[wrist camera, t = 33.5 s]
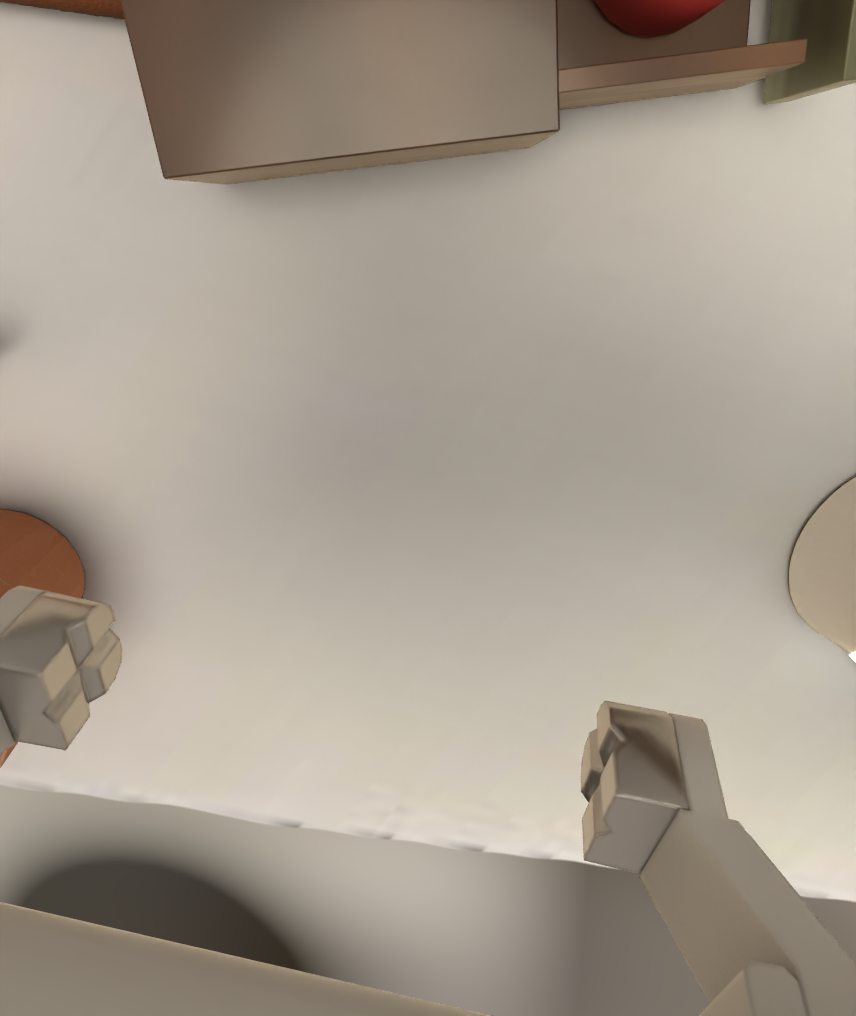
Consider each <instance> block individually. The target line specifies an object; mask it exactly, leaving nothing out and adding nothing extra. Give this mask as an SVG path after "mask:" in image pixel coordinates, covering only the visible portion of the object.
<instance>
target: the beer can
mask: <svg viewBox="0 0 856 1016" xmlns="http://www.w3.org/2000/svg"><path fill="white" fill-rule="evenodd" d="M594 1H595V2H596V4H597V5H598V7H599V8H600V9H601V11H602V12H603V14H604V15H605V16H606V18H607V19H608V20H609V21H611V22H612V23H613V24H615V25H616V26H618V27H619V28H621V29H622V30H624V31H625V32H627V33H631V34H635V35H640V36H645V37H655V36H661V35H667V34H673V33H675V32H677V31H678V30H680V29H682V28H684V27H686V26H687V25H689V24H691V23H693V22H695V21H696V20H698V19H699V18H701V17H702V16H704V15H705V14H706V13H708V12H709V11H711V10H712V9H714V8H715V7H717V6H718V5H719V4H721V3H722V2H724V1H725V0H594Z"/></svg>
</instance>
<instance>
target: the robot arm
mask: <svg viewBox="0 0 856 1016" xmlns="http://www.w3.org/2000/svg"><path fill="white" fill-rule="evenodd" d="M789 588H790V594H791V597H792V601H793V603H794V606H795V608H796V610H797V611H798V613H799V615H800V616H801V617H802V619H803V620H804V621H805V622H806V623H807V624H808V625H809V626H810V627H811V628H812V629H813V630H815V631H816V632H818V633H819V634H821V635H822V636H824V637H826V638H827V639H829V640H831V641H832V642H834V643H836V644H837V645H839V646H840V647H842V648H843V649H844V650H846V651H847V652H848V653H850V655H849V656H850V657H851V658H852V659H853V660H854V661H855V662H856V477H854V478H853V479H851V480H850V481H848V482H847V483H846V484H844V485H843V486H842V487H840V488H839V489H838V490H837V491H836V492H834V493H833V494H832V495H831V496H830V497H829V498H828V499H827V500H826V501H825V502H824V503H823V504H822V505H821V506H820V507H819V508H818V509H817V511H816V512H815V513H814V514H813V516H812V517H811V518H810V520H809V521H808V523H807V524H806V526H805V527H804V529H803V531H802V532H801V534H800V536H799V538H798V540H797V543H796V545H795V548H794V551H793V554H792V557H791V562H790V567H789ZM114 621H115V617H114V614H113V611H112V608H111V606H110V605H107V604H104V603H99V602H95V601H90V600H86V599H81V598H77V597H73V596H68V595H64V594H59V593H55V592H50V591H45V590H40V589H35V588H31V587H26V586H21V585H20V586H17V587H15V588H12V589H10V590H8V591H7V592H6V593H5V594H4V595H3V596H2V597H1V598H0V754H1V753H2V752H4V751H5V750H7V749H8V748H10V747H11V746H13V745H14V744H15V742H14V741H19V742H24V743H30V744H35V745H40V746H46V747H51V748H57V749H62V750H66V749H67V748H68V747H69V745H70V744H71V742H72V741H73V739H74V738H75V737H76V735H77V734H78V732H79V731H80V729H81V728H82V727H83V725H84V724H85V722H86V721H87V720H88V718H89V717H90V709H89V702H91V701H93V700H95V699H97V698H98V697H100V696H102V695H104V694H106V692H107V691H108V689H109V688H110V686H111V685H112V683H113V682H114V680H115V678H116V675H117V673H118V670H119V667H120V664H121V659H122V647H121V642H120V639H119V638H118V636H117V635H116V634H115V633H114V632H113V631H112V630H111V629H110V626H111V625H112V624H113V622H114ZM581 792H582V793H583V795H584V796H585V798H586V799H587V801H588V802H589V804H588V806H587V808H586V811H585V813H584V815H583V818H582V827H583V851H584V860H585V861H589V862H593V863H597V864H601V865H605V866H610V867H614V868H618V869H622V870H627V871H630V872H634V873H639V874H640V876H639V878H640V879H641V881H642V883H643V885H644V887H645V888H646V890H647V892H648V894H649V896H650V898H651V899H652V901H653V903H654V905H655V907H656V908H657V910H658V912H659V914H660V915H661V917H662V919H663V921H664V923H665V925H666V926H667V928H668V930H669V932H670V933H671V935H672V937H673V939H674V941H675V943H676V944H677V946H678V948H679V950H680V952H681V953H682V955H683V957H684V958H685V961H686V962H687V964H688V966H689V968H690V970H691V971H692V973H693V975H694V977H695V979H696V981H697V982H698V984H699V986H700V988H701V990H702V991H703V993H704V995H705V997H706V999H707V1000H708V1002H709V1005H708V1006H707V1007H706V1008H705V1009H704V1010H703V1011H702V1012H701V1013H700V1014H699V1015H698V1016H856V964H855V962H854V961H853V960H852V959H851V958H850V956H849V955H848V954H847V953H846V952H845V950H844V949H843V948H842V947H841V946H840V944H839V943H838V942H837V941H836V939H835V938H834V937H833V936H832V934H831V933H830V932H829V931H828V930H827V928H826V927H825V926H824V925H823V924H822V922H821V921H820V920H819V919H818V917H817V916H816V915H815V914H814V913H813V911H812V910H811V909H810V908H809V907H808V905H807V904H806V903H805V902H804V900H803V899H802V898H801V897H800V895H799V894H798V893H797V892H796V891H795V889H794V888H793V887H792V886H791V885H790V883H789V882H788V881H787V880H786V878H785V877H784V876H783V875H782V874H781V872H780V871H779V870H778V869H777V867H776V866H775V865H774V864H773V863H772V861H771V860H770V859H769V858H768V857H767V855H766V854H765V853H764V852H763V850H762V849H761V848H760V847H759V846H758V844H757V843H756V842H755V841H754V839H753V838H752V837H751V836H750V835H749V833H748V832H747V831H746V830H745V829H744V827H743V826H742V825H741V824H740V822H739V821H735V820H731V819H728V815H727V811H726V806H725V802H724V798H723V793H722V789H721V785H720V780H719V776H718V772H717V767H716V763H715V759H714V754H713V750H712V746H711V741H710V737H709V733H708V728H707V725H706V724H705V722H704V721H703V720H702V719H697V718H692V717H687V716H682V715H677V714H671V713H667V712H664V711H658V710H653V709H647V708H642V707H636V706H631V705H625V704H620V703H615V702H609V701H604V702H603V704H602V705H601V706H600V709H599V711H598V713H597V729H596V730H594V731H592V732H590V733H589V736H588V738H587V741H586V744H585V747H584V753H583V758H582V765H581ZM0 1016H492V1015H487V1014H482V1013H479V1012H474V1011H470V1010H466V1009H461V1008H457V1007H453V1006H448V1005H444V1004H439V1003H435V1002H431V1001H427V1000H422V999H418V998H413V997H409V996H405V995H401V994H396V993H391V992H388V991H383V990H379V989H375V988H370V987H366V986H361V985H357V984H353V983H348V982H344V981H340V980H336V979H331V978H326V977H323V976H318V975H314V974H309V973H305V972H301V971H297V970H292V969H288V968H284V967H279V966H275V965H271V964H266V963H262V962H258V961H253V960H249V959H244V958H240V957H236V956H232V955H227V954H223V953H219V952H214V951H210V950H205V949H201V948H197V947H193V946H188V945H184V944H180V943H175V942H171V941H167V940H162V939H158V938H154V937H149V936H145V935H141V934H136V933H132V932H128V931H123V930H119V929H115V928H110V927H106V926H101V925H97V924H93V923H89V922H84V921H80V920H76V919H71V918H67V917H62V916H58V915H54V914H50V913H45V912H41V911H36V910H32V909H28V908H23V907H19V906H15V905H11V904H6V903H1V902H0Z"/></svg>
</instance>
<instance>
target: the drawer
mask: <svg viewBox="0 0 856 1016" xmlns="http://www.w3.org/2000/svg"><path fill="white" fill-rule="evenodd" d="M557 12H558V63H559V110H561V109H569V108H577V107H585V106H593V105H602V104H610V103H618V102H626V101H634V100H642V99H650V98H659V97H667V96H675V95H683V94H691V93H699V92H708V91H716V90H724V89H732V88H737V87H740V86H742V85H746V84H749V83H751V82H754V81H757V80H759V79H762V78H765V86H764V97H763V104H773V103H781V102H788V101H791V100H795V99H798V98H802V97H805V96H809V95H812V94H816V93H820V92H823V91H827V90H830V89H834V88H837V87H841V86H844V85H848V84H851V83H855V82H856V0H772V10H771V21H770V32H769V43H766V44H758V45H750V46H747V38H748V25H749V13H750V0H725V1H724V2H722V3H721V4H719V5H718V6H717V7H715V8H714V9H712V10H711V11H709V12H708V13H706V14H705V15H704V16H702V17H701V18H699V19H698V20H696V21H695V22H693V23H691V24H689V25H687V26H686V27H684V28H682V29H680V30H678V31H677V32H675V33H673V34H667V35H661V36H655V37H645V36H640V35H635V34H631V33H627V32H625V31H624V30H622V29H621V28H619V27H618V26H616V25H615V24H613V23H612V22H611V21H609V20H608V19H607V18H606V16H605V15H604V14H603V12H602V11H601V9H600V8H599V7H598V5H597V4H596V2H595V1H594V0H557Z"/></svg>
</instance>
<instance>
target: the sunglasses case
mask: <svg viewBox="0 0 856 1016" xmlns="http://www.w3.org/2000/svg"><path fill="white" fill-rule="evenodd" d="M0 2H7V3H13V4H20V5H27V6H34V7H40V8H48V9H56V10H61V11H69V12H75V13H84V14H89V15H95V16H103V17H112V18H117V19H125V18H124V14H123V10H122V6H121V2H120V0H0Z"/></svg>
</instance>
